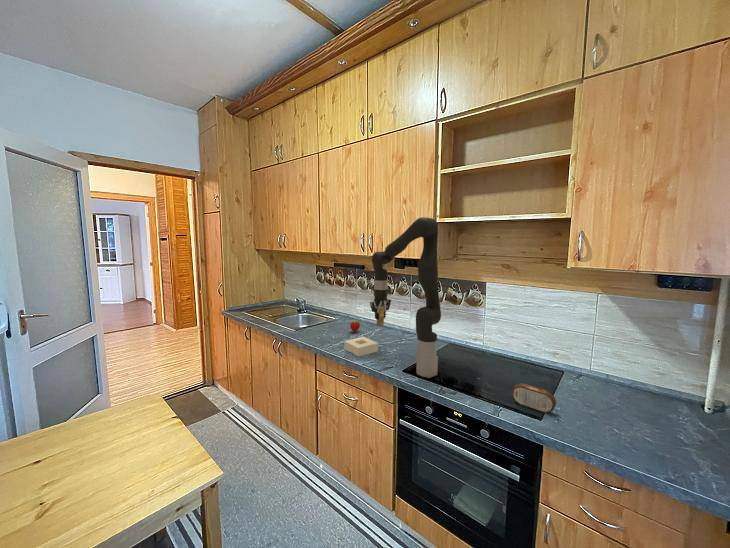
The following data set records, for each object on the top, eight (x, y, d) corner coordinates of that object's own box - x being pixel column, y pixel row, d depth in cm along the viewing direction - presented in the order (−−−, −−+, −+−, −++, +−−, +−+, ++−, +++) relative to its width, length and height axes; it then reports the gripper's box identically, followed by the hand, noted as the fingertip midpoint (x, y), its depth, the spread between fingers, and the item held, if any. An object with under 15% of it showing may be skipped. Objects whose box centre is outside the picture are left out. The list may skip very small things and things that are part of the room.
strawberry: (362, 332, 209) (362, 318, 208) (353, 334, 204) (353, 320, 203) (356, 330, 214) (356, 316, 212) (348, 332, 209) (348, 318, 207)
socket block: (377, 351, 175) (377, 343, 174) (358, 356, 167) (358, 348, 166) (363, 344, 186) (363, 336, 186) (344, 349, 178) (344, 341, 177)
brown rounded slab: (555, 413, 114) (557, 392, 113) (553, 417, 112) (555, 396, 111) (512, 399, 124) (514, 380, 123) (510, 402, 122) (511, 382, 121)
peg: (385, 325, 166) (385, 304, 165) (379, 326, 164) (380, 305, 162) (380, 323, 169) (381, 302, 168) (375, 325, 167) (375, 303, 166)
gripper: (374, 290, 157) (374, 322, 159) (395, 287, 165) (394, 318, 167) (366, 288, 163) (365, 319, 165) (386, 286, 171) (385, 315, 173)
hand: (380, 318), depth 166 cm, fingers closed on peg, 4 cm apart
